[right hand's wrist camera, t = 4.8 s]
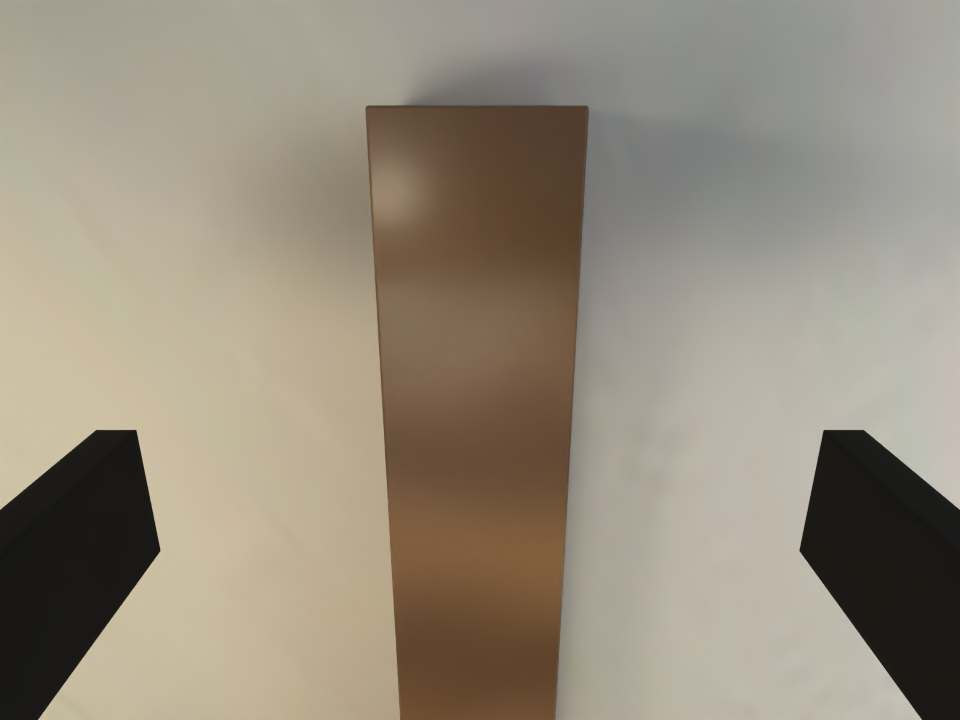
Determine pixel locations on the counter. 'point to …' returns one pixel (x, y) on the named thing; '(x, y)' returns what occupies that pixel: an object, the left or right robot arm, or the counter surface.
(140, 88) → the counter surface
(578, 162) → the bar
